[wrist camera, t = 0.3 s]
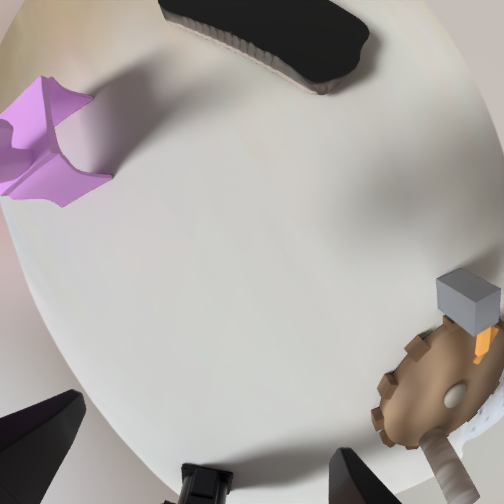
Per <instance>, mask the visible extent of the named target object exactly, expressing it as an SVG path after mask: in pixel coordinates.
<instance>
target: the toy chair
mask: <svg viewBox="0 0 504 504" xmlns="http://www.w3.org/2000/svg"><path fill="white" fill-rule="evenodd" d="M92 100H93V96H89V95H85V94H81V93H77V92H73V91H70V90H68V89H65V88H64V87H62V86H61V85H60V84H59V83H58V82H57V81H56V80H55V79H54V78H53V77H49V78H46V77H44V76H40V77H39V78H38V79H37V80H35V81H34V82H33V83H32V84H31V85H30V86H29V87H28V88H27V89H26V90H25V91H24V92H23V93H22V94H21V95H20V96H19V97H18V98H17V99H16V100H15V101H14V102H13V103H12V104H11V105H10V106H9V107H8V108H7V109H6V110H5V111H4V112H3V113H2V114H1V115H0V196H7V195H8V196H9V197H10V198H12V199H15V200H25V199H46V200H50V201H52V202H54V203H56V204H57V205H59V206H60V207H64V206H66V205H68V204H69V203H71V202H73V201H74V200H76V199H78V198H79V197H81V196H83V195H84V194H86V193H88V192H90V191H91V190H93V189H95V188H97V187H99V186H100V185H102V184H104V183H106V182H108V181H110V180H111V179H113V178H112V175H108V174H94V173H87V172H83V171H80V170H78V169H76V168H75V167H74V166H73V165H72V164H71V163H70V162H69V160H68V159H67V158H66V157H65V156H64V155H63V153H62V152H61V150H60V148H59V145H58V142H57V138H56V133H55V129H54V127H55V126H56V125H58V124H59V123H60V122H62V121H63V120H64V119H66V118H67V117H69V116H70V115H71V114H73V113H74V112H76V111H77V110H79V109H80V108H81V107H83V106H84V105H86V104H87V103H89V102H91V101H92Z"/></svg>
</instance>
